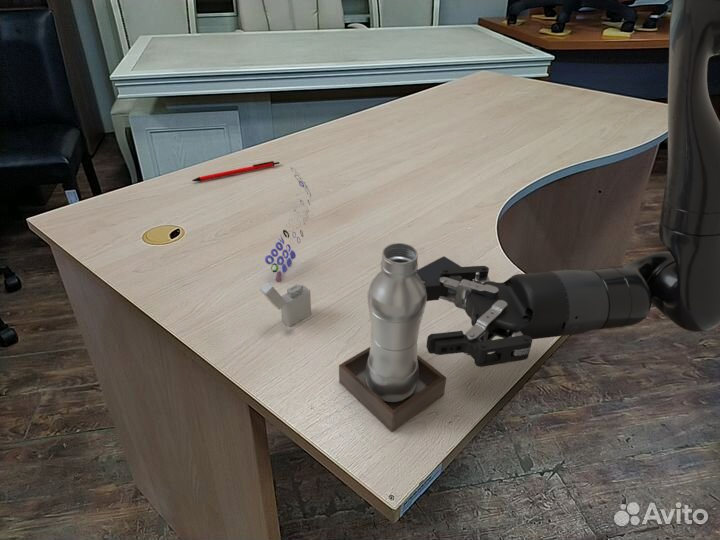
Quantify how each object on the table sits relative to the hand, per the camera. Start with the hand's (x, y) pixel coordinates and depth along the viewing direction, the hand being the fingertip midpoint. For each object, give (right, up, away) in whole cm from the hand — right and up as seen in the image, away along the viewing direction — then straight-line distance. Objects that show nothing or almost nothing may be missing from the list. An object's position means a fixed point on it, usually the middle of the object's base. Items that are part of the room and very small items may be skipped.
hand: (417, 317), depth 58 cm
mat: (+8, +4, +24) cm, 25 cm away
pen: (-32, +26, +53) cm, 68 cm away
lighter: (-16, -2, +16) cm, 23 cm away
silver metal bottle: (-3, -9, +6) cm, 11 cm away
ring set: (-17, +10, +33) cm, 39 cm away
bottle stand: (-3, -9, +6) cm, 11 cm away
